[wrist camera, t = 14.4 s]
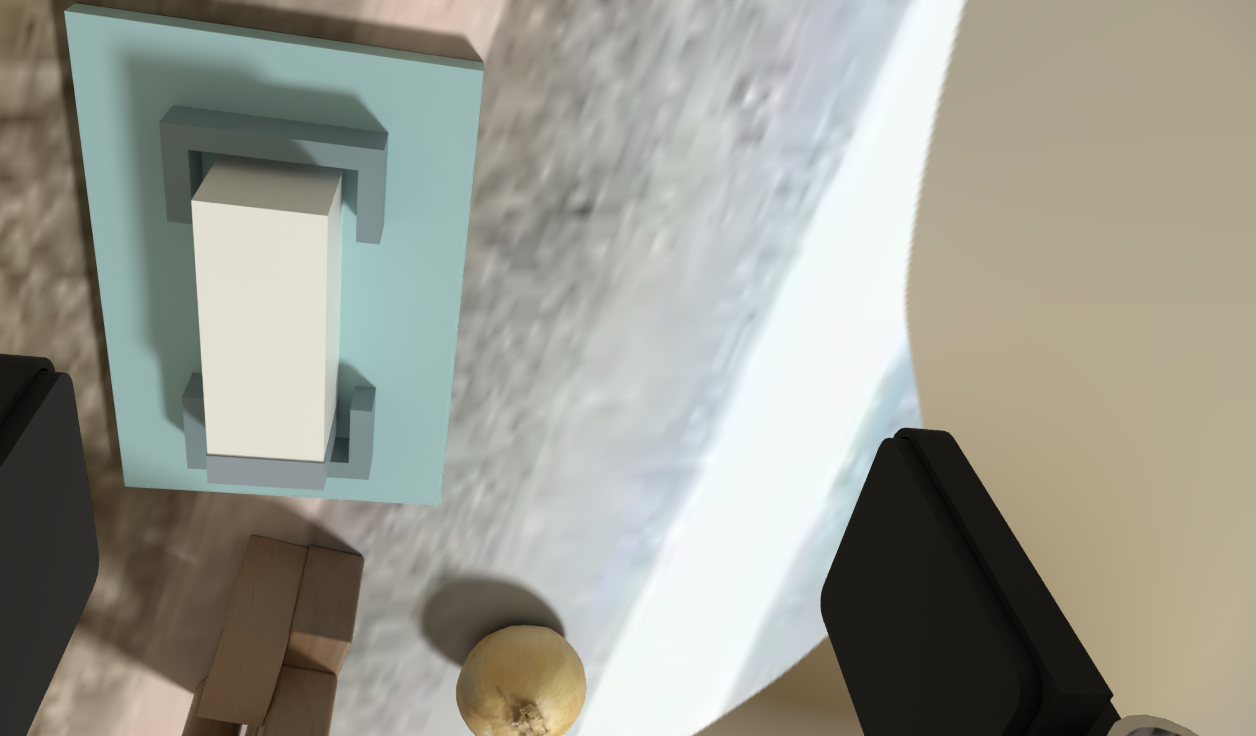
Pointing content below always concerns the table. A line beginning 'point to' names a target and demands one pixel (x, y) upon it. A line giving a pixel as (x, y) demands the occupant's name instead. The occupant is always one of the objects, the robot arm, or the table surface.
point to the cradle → (371, 235)
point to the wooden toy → (280, 643)
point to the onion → (521, 684)
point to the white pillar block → (269, 319)
